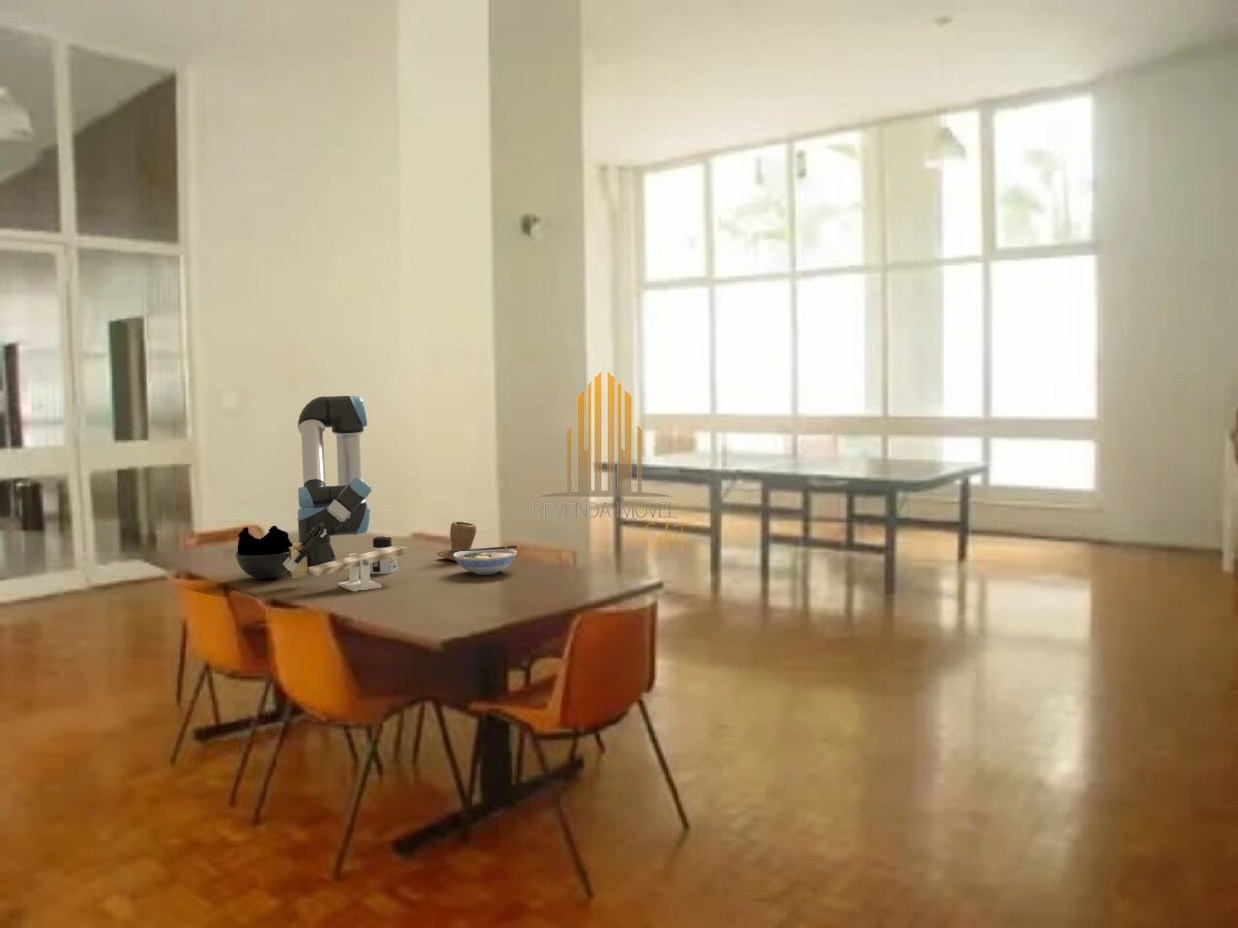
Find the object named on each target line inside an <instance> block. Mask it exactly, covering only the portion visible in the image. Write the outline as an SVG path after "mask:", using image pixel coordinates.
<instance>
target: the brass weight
mask: <svg viewBox="0 0 1238 928" xmlns="http://www.w3.org/2000/svg"><path fill="white" fill-rule="evenodd" d="M303 548H304V546H302V543H301V542H299V541H298V542H293V543H292V547H289V562H290V561H291V560H292V559H293V558H294V556H295V555H296V554H297V553H298V550H300V551H301V550H302V549H303ZM300 554H301V553H300ZM308 573H309V571H308V567H307V557H305V558H304V559H303V560H302V561H301V562H300V564H299V565H298V566H297V567H296V568H295V569H294V570H293V571H292V572H291V571H289V577H290V578H291V579H302V578H308V577H309V576H308Z"/></svg>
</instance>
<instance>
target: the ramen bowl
mask: <svg viewBox="0 0 1238 928" xmlns="http://www.w3.org/2000/svg"><path fill="white" fill-rule="evenodd" d="M515 549H518V546H517V545H515V544H514V545H506V546H505V545H503V546H495V547H493V546H492V547H483V548H471V549H469V550H460V551H449V552H456V553H454V555H453V556H454V558H455V560H456V563H457V564H458V565H459V566H460V567H461V568H463V569H464V570H465V571H468V572H470V573H474V575H475V574H476V575H480V576H490V575H495V574H497V573H498V572H501V571H503V570H504V569H506V568H508V567H509V566H510V565H511V564H512V563H513V561H514V559H515V558H516V555H517V552H518V551H517V550H515ZM455 560H454V561H455Z"/></svg>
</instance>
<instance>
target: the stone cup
mask: <svg viewBox="0 0 1238 928" xmlns="http://www.w3.org/2000/svg"><path fill="white" fill-rule="evenodd" d="M449 533H450V534H449V536H450V537H449V538H450V545H451V548H450V549H444V550H440V551H438V552H436V555H437V556H438V557H440V558H443V559H447V560H451V561H456V560H455V558H454V556H453V555H454V553H456V552H449V551H460V550H469V549H472V545H473V543H474V540H475V538H476V533H477V526H476V524H474V523H472V522H471V523H469V522H464V521H456V520H455V521H453V522H452V523H451V524H450V531H449ZM456 562H457V561H456Z"/></svg>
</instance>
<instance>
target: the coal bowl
mask: <svg viewBox="0 0 1238 928" xmlns="http://www.w3.org/2000/svg"><path fill="white" fill-rule="evenodd" d="M249 531H250V529H249V526H245V527H243V529H242V530H241V531H240V532H239V533H238V535H237V537H238V538H239V539H238V541H237V552H235V558H236V560H237V561H236V562H237V564H238V565H239V567H240V569H241V570H242V571H243V572H244V573H245V574H246V575H248V576H249V577H251V578H255V579H256V580H257V579H259V580H272V579H276V578H278V577H280V576H282V575H283V574H284V573H286V572H287V571H289V570H288V569H287V568H286V567H285V566H284V565H283V563H284V562H285V561H286V560H287V558H288V557H289V547H293V543H292V542H291V541H290V538H289V533H288V532H287V531H285V530H282V529H280V528H278V526H277V525H272V526H271V527H270V528H269V529H268V530H267V531H268V532H267V533H266V534H265V535H264V536H263V537H261V538H257V537H254V536H253V535H252V534H251V533H250V532H249Z"/></svg>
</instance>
